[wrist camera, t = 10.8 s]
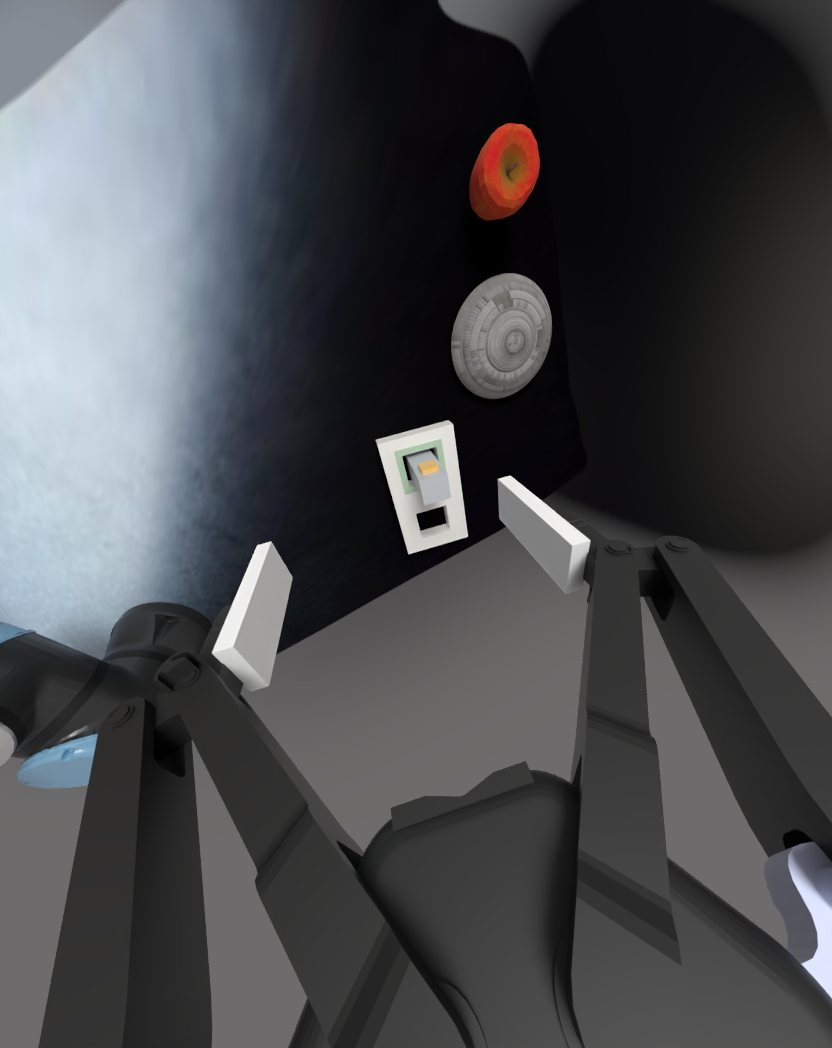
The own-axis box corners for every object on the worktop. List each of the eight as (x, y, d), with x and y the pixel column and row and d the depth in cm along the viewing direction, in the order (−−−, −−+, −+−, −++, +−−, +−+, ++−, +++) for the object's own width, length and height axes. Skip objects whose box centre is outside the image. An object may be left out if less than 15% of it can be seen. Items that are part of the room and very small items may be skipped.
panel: (406, 546, 59) (408, 554, 56) (375, 439, 46) (377, 444, 44) (463, 529, 59) (468, 537, 57) (448, 420, 47) (453, 424, 45)
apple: (471, 245, 36) (498, 225, 30) (449, 179, 33) (474, 142, 27) (516, 211, 36) (553, 183, 29) (498, 141, 32) (535, 93, 26)
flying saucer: (452, 272, 38) (467, 262, 33) (557, 278, 40) (584, 270, 36) (444, 398, 46) (456, 404, 41) (532, 396, 48) (552, 402, 44)
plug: (410, 475, 51) (424, 505, 42) (403, 450, 48) (417, 475, 39) (432, 469, 51) (451, 497, 42) (427, 443, 48) (446, 467, 39)
